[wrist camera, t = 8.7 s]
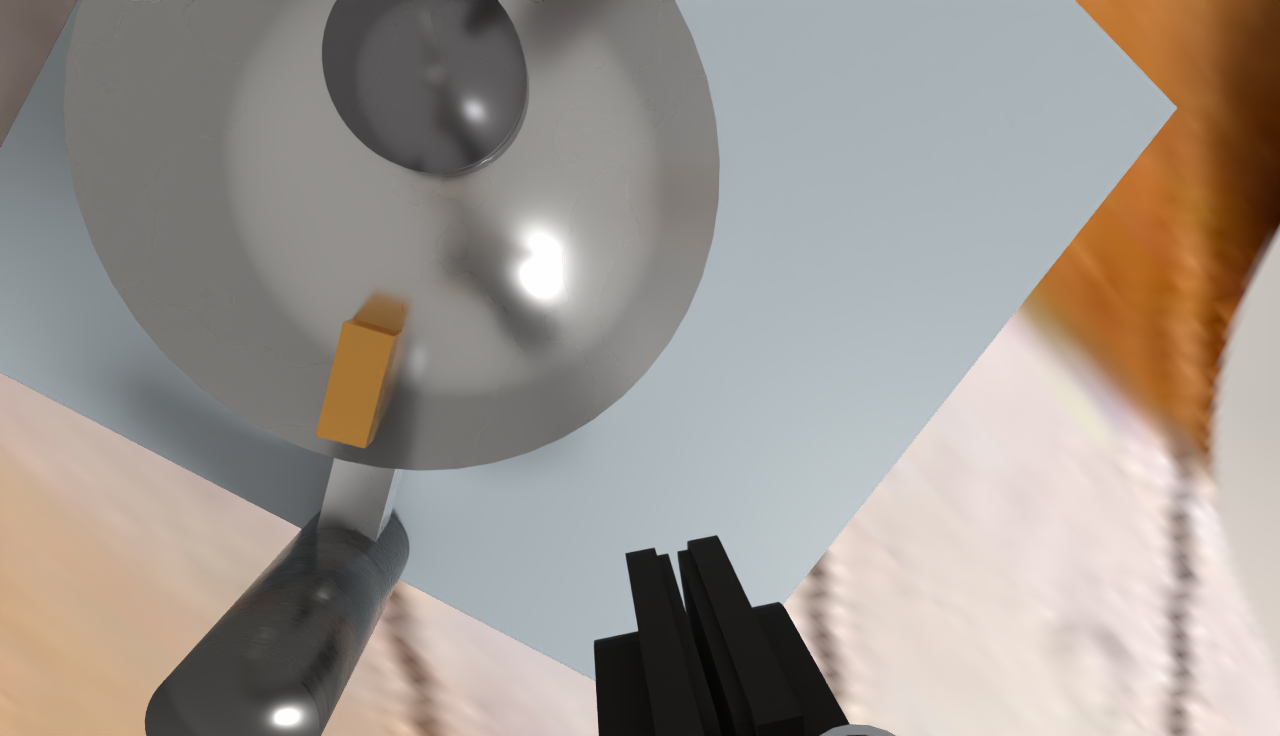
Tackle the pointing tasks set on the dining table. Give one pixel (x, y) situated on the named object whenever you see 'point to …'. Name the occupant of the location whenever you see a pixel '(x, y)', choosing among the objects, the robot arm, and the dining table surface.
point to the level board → (716, 320)
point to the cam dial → (385, 261)
